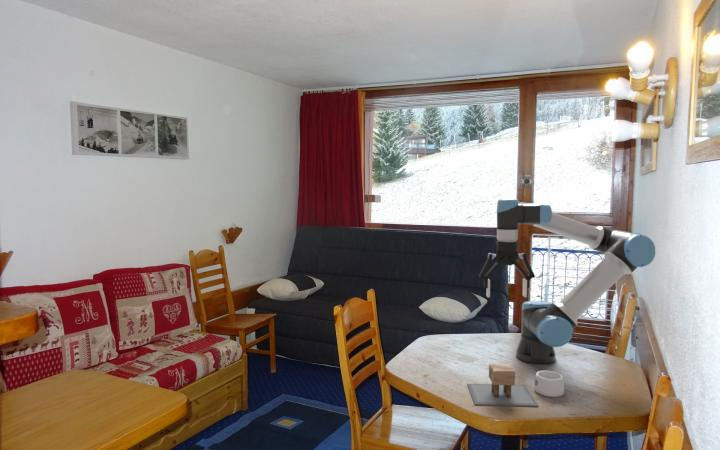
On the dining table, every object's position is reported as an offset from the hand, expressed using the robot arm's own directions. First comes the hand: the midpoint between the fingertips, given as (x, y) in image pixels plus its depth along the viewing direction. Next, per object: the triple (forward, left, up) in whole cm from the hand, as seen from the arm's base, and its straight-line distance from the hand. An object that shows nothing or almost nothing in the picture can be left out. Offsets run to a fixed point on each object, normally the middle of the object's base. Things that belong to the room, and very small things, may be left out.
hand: (506, 296), depth 186 cm
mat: (+6, +23, -29) cm, 37 cm away
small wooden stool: (+6, +23, -28) cm, 36 cm away
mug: (-11, +18, -29) cm, 35 cm away
